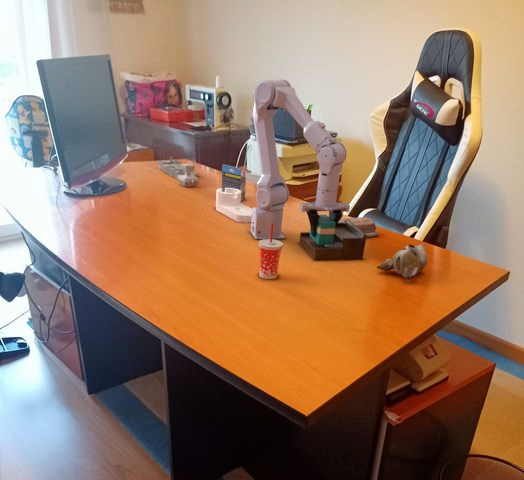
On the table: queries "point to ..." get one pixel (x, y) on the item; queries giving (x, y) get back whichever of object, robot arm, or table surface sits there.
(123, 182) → the table surface
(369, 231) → the packaged product
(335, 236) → the step shelf
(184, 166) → the stamp
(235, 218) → the bracket
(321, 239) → the block
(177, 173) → the architectural model
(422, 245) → the ceramic sculpture
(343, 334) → the table surface
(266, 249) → the beverage cup
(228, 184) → the label tape box
